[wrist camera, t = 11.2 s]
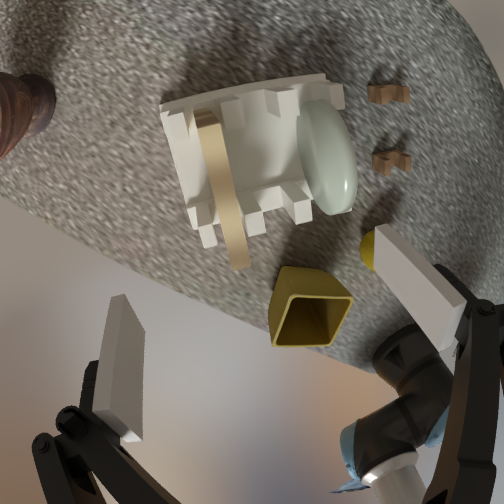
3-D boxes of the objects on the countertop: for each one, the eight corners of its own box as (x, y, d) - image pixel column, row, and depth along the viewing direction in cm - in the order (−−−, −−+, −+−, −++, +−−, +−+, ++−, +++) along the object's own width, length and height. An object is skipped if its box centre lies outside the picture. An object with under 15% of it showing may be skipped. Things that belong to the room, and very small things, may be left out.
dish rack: (333, 190, 40) (360, 214, 34) (193, 225, 38) (196, 257, 32) (320, 73, 31) (350, 75, 25) (159, 104, 30) (153, 111, 24)
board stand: (397, 163, 39) (410, 170, 37) (372, 168, 39) (384, 176, 36) (394, 84, 33) (409, 86, 31) (366, 85, 33) (380, 87, 30)
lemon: (350, 224, 43) (379, 255, 36) (383, 216, 43) (415, 244, 37) (350, 257, 46) (375, 290, 39) (381, 248, 47) (409, 278, 40)
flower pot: (256, 303, 47) (271, 348, 40) (271, 252, 43) (291, 295, 35) (310, 304, 50) (331, 346, 42) (328, 257, 45) (356, 296, 38)
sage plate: (314, 187, 37) (358, 232, 27) (303, 190, 36) (344, 236, 27) (302, 94, 31) (352, 107, 21) (290, 96, 30) (336, 109, 21)
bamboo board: (232, 211, 36) (251, 265, 27) (218, 214, 36) (233, 270, 27) (208, 107, 30) (220, 123, 20) (192, 111, 29) (197, 128, 20)
